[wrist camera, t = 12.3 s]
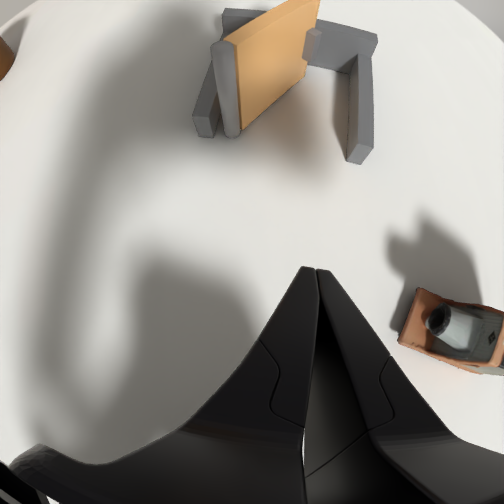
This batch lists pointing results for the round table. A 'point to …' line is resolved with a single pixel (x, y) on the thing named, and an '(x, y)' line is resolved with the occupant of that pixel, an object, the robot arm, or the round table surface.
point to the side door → (264, 61)
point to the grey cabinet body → (328, 56)
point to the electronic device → (456, 333)
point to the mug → (5, 58)
